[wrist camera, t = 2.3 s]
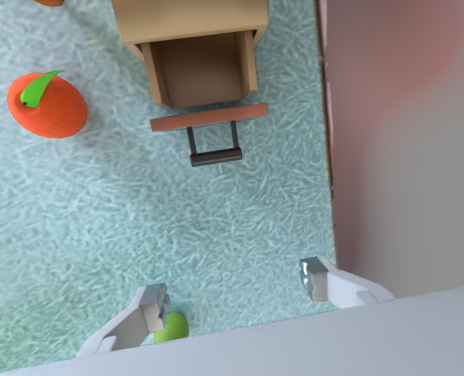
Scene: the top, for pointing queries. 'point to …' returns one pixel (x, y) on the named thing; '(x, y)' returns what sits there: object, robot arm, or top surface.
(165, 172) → the top surface
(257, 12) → the cabinet
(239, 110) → the drawer
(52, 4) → the carrot
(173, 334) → the green ball with rod
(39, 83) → the clementine
